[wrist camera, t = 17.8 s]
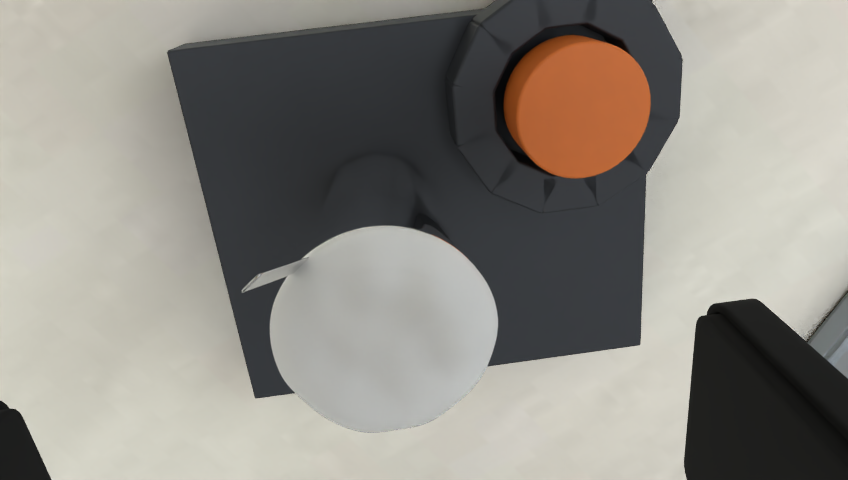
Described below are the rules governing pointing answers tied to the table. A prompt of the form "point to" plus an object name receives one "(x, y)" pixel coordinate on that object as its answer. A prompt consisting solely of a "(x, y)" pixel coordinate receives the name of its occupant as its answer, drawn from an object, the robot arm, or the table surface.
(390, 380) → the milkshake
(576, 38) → the button
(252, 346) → the dark grey flat block
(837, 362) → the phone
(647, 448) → the table surface
